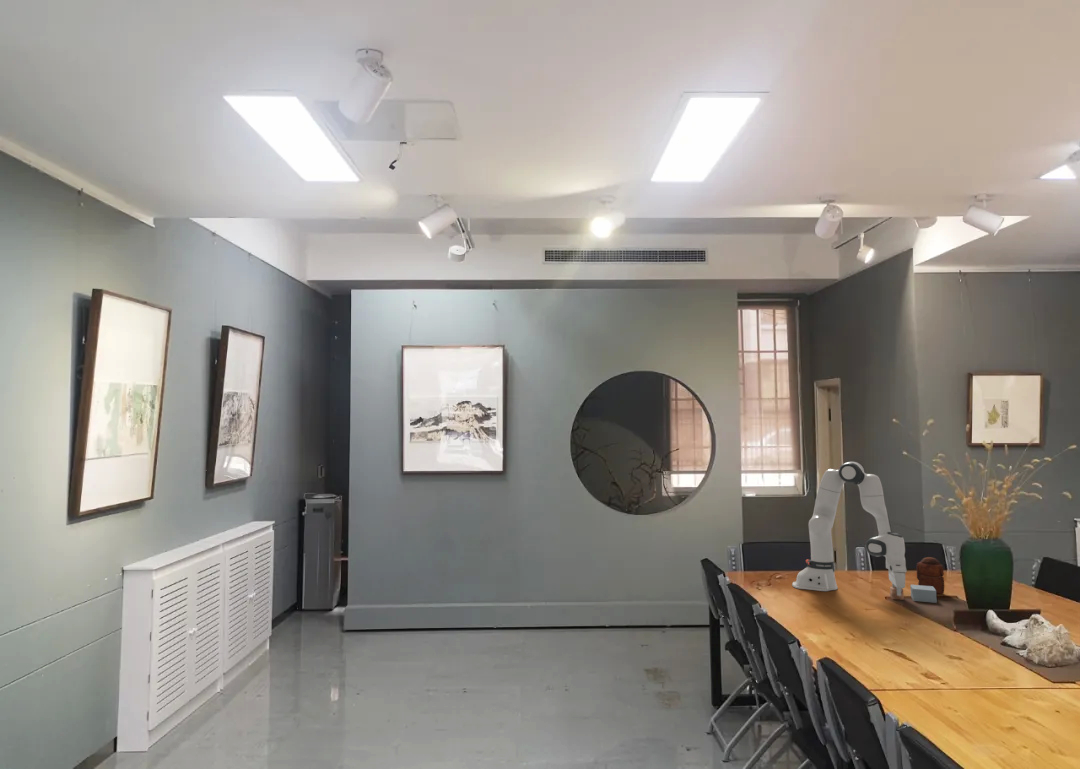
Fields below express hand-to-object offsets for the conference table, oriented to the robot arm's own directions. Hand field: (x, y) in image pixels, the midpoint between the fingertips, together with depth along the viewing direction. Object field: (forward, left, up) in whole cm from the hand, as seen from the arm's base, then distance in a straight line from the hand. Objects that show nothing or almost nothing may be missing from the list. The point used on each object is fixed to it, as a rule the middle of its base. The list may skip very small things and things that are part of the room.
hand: (897, 593), depth 330 cm
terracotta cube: (0, 0, -2) cm, 2 cm away
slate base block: (+12, +1, -2) cm, 12 cm away
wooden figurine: (+19, +18, -2) cm, 26 cm away
